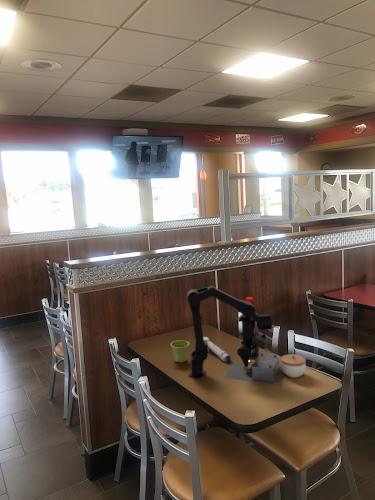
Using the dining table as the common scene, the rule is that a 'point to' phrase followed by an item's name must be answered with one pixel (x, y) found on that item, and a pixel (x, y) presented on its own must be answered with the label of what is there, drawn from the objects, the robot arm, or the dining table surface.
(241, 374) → the mat
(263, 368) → the plate
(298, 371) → the lidded jar
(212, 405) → the dining table surface
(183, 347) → the plant pot
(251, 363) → the silver and amber cylinder
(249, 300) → the cola bottle
